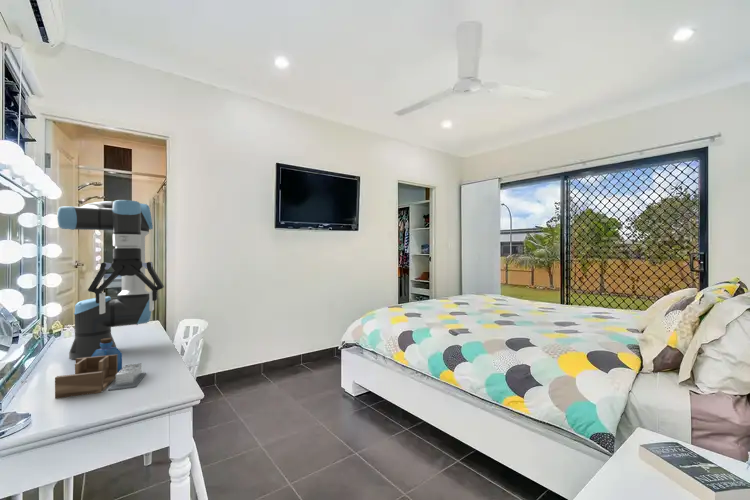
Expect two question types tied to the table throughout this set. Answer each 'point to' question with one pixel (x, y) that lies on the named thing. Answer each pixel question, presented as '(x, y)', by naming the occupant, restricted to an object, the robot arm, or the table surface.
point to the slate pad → (127, 384)
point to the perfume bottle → (108, 351)
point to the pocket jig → (88, 376)
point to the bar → (128, 374)
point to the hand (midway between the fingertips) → (127, 312)
